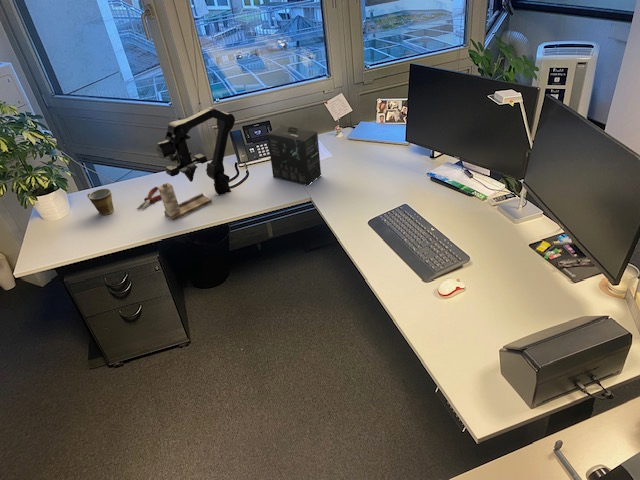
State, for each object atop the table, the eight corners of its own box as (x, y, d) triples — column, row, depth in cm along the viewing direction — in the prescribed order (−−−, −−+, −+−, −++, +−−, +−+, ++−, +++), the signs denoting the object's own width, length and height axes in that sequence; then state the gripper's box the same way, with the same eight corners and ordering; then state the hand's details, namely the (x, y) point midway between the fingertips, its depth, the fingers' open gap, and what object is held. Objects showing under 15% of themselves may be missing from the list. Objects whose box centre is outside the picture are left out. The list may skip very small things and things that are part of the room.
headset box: (322, 175, 233) (317, 127, 218) (309, 186, 225) (303, 136, 210) (286, 168, 244) (279, 121, 229) (272, 178, 236) (264, 130, 221)
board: (202, 197, 226) (201, 192, 225) (211, 202, 221) (210, 197, 220) (165, 215, 216) (163, 210, 214) (173, 220, 211) (172, 216, 209)
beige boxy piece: (174, 207, 217) (165, 179, 208) (182, 213, 212) (173, 185, 203) (164, 212, 214) (155, 184, 206) (173, 218, 209) (163, 189, 201)
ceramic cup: (122, 207, 226) (115, 189, 220) (108, 218, 218) (100, 200, 212) (101, 205, 230) (93, 187, 224) (86, 215, 222) (78, 197, 216)
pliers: (130, 210, 224) (128, 205, 222) (156, 189, 238) (155, 185, 237) (149, 213, 220) (147, 208, 218) (174, 192, 235) (173, 187, 233)
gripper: (191, 139, 216) (199, 169, 225) (155, 153, 206) (164, 184, 215) (204, 144, 209) (211, 175, 218) (167, 159, 199) (176, 191, 208)
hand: (191, 181), depth 215 cm, fingers closed
